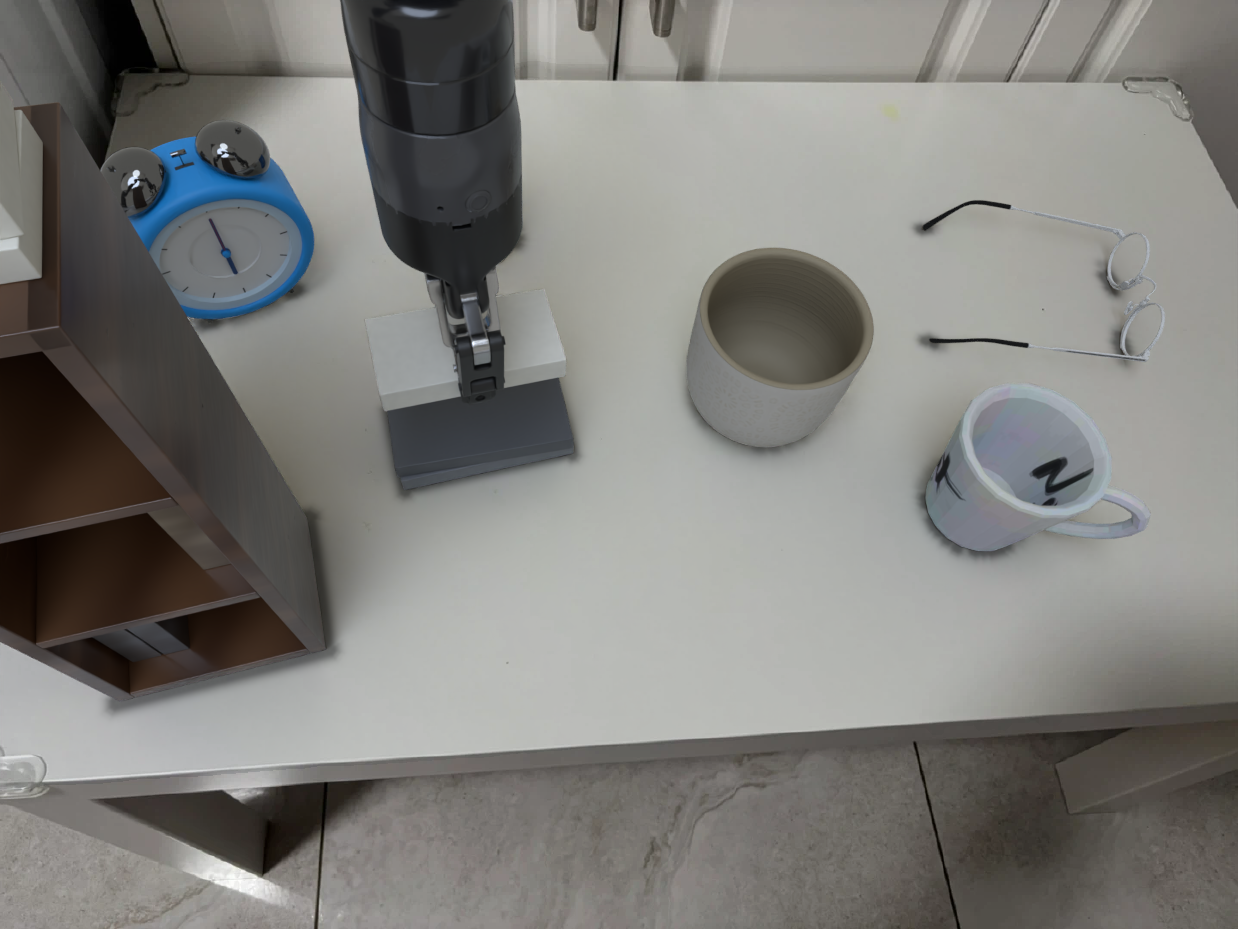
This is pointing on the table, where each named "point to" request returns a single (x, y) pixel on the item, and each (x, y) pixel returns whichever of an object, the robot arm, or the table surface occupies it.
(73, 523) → the bookcase
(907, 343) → the table surface
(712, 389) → the planter
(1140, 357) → the eyeglasses
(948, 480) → the mug
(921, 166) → the table surface
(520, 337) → the white flat block
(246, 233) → the alarm clock
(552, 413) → the grey book pile
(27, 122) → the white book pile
